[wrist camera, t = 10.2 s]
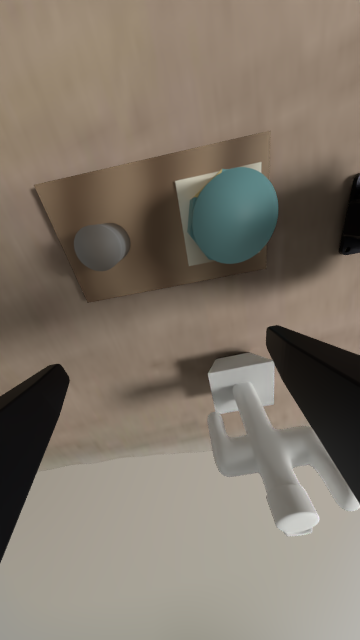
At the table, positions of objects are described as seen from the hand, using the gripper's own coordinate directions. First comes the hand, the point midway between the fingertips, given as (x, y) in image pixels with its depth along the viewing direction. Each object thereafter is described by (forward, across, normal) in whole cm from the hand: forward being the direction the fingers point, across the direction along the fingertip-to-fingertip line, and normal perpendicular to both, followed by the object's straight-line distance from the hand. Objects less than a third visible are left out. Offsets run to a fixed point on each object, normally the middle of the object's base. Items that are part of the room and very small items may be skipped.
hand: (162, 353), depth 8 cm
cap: (+12, -6, -4) cm, 13 cm away
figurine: (+13, -6, +14) cm, 20 cm away
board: (+12, 0, -4) cm, 13 cm away
